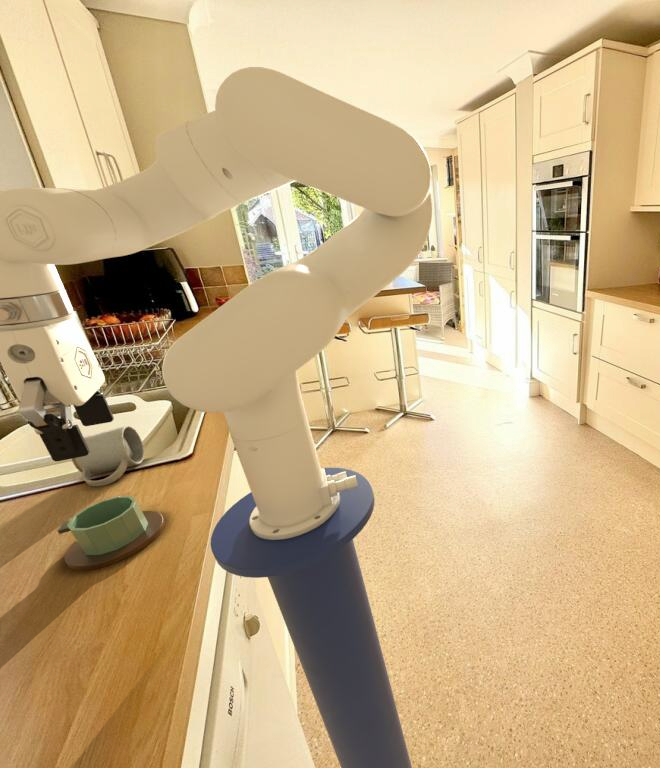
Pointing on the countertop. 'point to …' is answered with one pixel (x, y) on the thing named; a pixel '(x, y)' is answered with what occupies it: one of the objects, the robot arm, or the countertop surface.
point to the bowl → (106, 525)
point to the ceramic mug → (110, 454)
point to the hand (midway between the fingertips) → (87, 439)
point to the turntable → (88, 562)
